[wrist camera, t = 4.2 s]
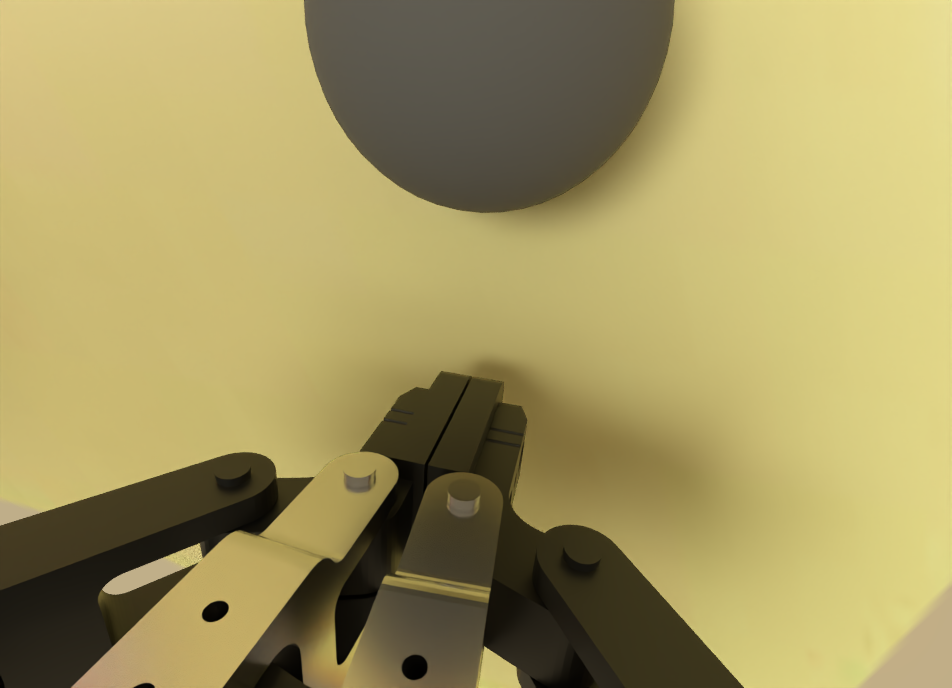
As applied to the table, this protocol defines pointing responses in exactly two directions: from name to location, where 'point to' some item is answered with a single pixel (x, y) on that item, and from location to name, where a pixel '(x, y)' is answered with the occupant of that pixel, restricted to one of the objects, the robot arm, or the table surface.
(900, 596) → the table surface
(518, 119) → the dark gray ball
